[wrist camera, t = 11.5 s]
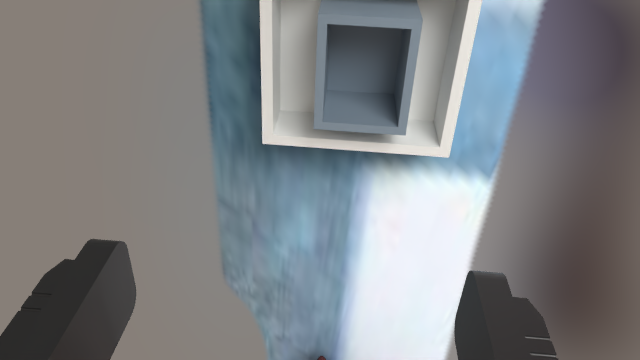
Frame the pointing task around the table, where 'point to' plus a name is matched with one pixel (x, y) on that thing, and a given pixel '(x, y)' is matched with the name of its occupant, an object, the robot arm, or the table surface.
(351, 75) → the slate crate
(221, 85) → the table surface
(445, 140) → the white crate
